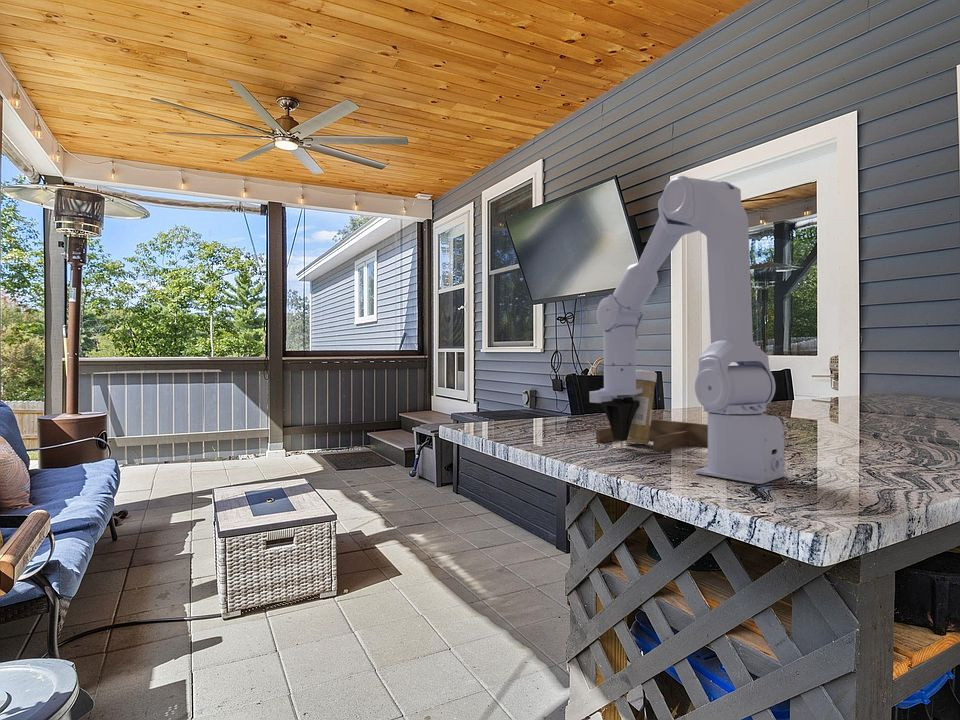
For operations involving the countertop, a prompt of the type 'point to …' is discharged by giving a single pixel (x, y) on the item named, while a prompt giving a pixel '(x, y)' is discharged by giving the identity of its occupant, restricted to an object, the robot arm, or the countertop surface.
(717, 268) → the robot arm
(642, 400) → the sprinkles bottle
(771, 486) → the countertop surface
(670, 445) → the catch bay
